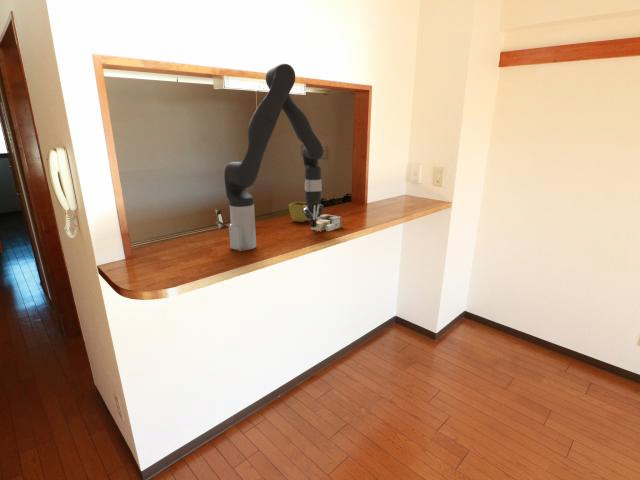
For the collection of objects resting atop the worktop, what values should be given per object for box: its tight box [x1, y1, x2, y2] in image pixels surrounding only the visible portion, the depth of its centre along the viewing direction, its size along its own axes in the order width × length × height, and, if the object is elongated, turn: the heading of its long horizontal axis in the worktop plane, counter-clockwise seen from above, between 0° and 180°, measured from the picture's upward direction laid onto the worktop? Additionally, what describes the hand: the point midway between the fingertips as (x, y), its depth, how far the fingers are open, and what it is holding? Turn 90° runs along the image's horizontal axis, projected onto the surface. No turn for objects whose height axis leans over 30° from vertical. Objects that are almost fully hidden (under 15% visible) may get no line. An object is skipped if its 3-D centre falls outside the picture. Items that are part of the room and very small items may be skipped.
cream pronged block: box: [310, 219, 330, 232], centre depth 172 cm, size 8×5×4 cm, turn 140°
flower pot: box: [288, 201, 308, 223], centre depth 187 cm, size 9×9×9 cm
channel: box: [317, 213, 343, 232], centre depth 175 cm, size 10×10×5 cm
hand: (313, 227), depth 167 cm, fingers closed
